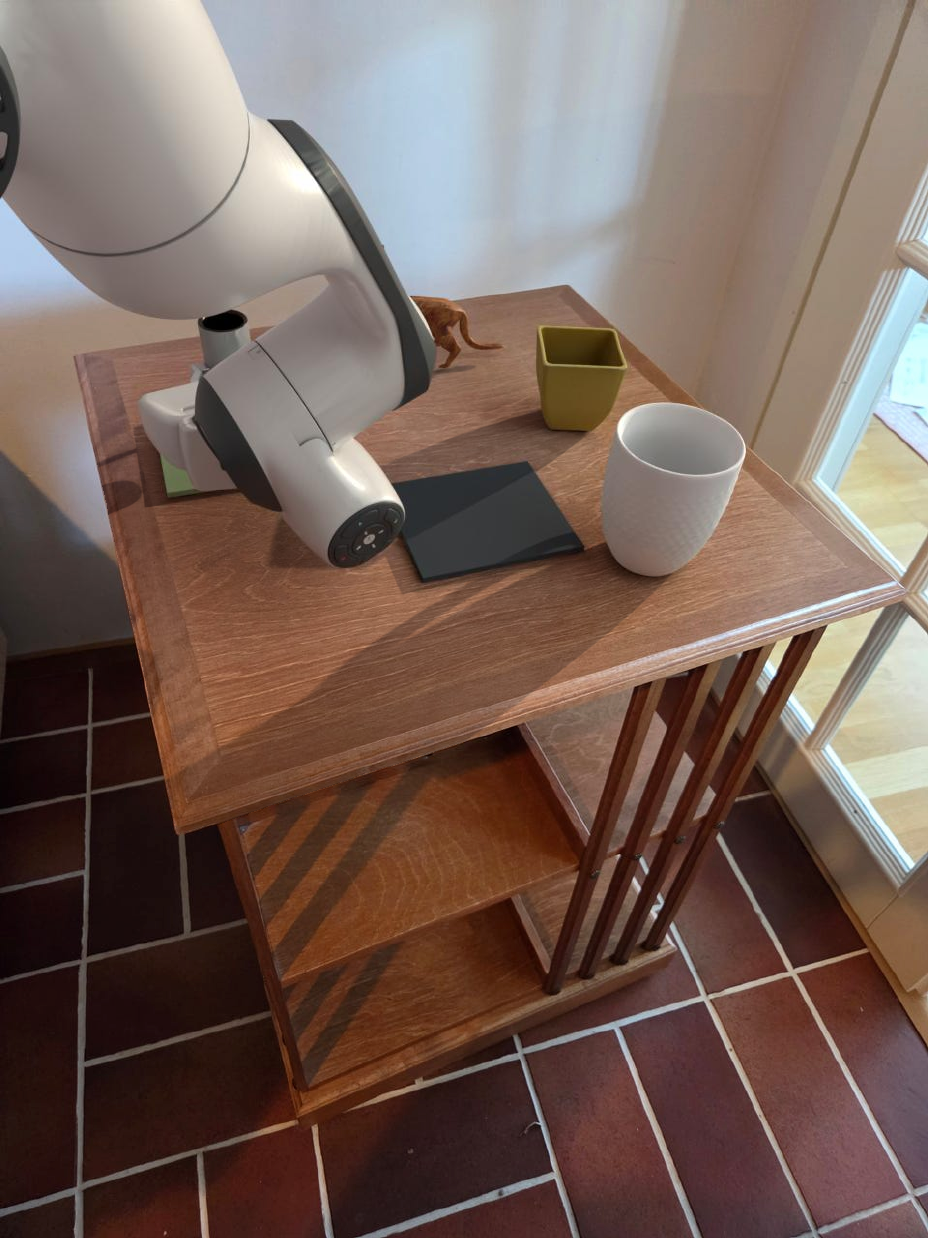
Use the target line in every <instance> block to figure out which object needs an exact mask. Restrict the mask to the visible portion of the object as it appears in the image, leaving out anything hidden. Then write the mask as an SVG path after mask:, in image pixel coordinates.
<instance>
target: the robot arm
mask: <svg viewBox="0 0 928 1238" xmlns="http://www.w3.org/2000/svg"><path fill="white" fill-rule="evenodd" d="M1 199H3V201H4V202H5V203H6V205H7V206H8V207H9V208H10V209H11V210H12V212H13V213H14V214H15V216H16V217H17V218H18V219H19V221H21V223H22V224H23V225H24V227H25V228H26V229H27V230H28V232H30V233H31V234H32V235H33V237H34V238H35V239H36V240H37V241H38V242H39V243H40V244H41V246H42V247H43V248H44V249H45V250H46V251H47V252H48V253H49V255H51V256H52V257H53V258H54V259H55V260H56V262H58V264H60V265H61V266H62V267H63V268H64V269H65V270H66V271H68V273H69V274H70V275H71V276H73V277H74V278H75V279H76V280H77V281H78V282H79V283H81V285H83V286H84V287H85V288H87V289H88V290H89V291H90V292H92V293H94V295H96V296H97V297H99V298H101V299H102V300H104V301H106V302H108V303H109V304H112V305H113V306H115V307H118V308H119V309H123V310H124V311H127V312H130V313H133V314H136V315H140V316H143V317H146V318H147V317H148V318H152V319H153V318H154V319H160V320H171V321H173V320H174V321H185V320H196V319H197V320H198V319H199V318H204V317H209V316H213V315H217V314H220V313H223V312H226V311H229V310H231V309H232V310H235V309H237V308H238V307H240V306H242V305H245V304H246V303H249V302H251V301H253V300H256V299H257V298H260V297H262V296H264V295H267V294H268V293H270V292H273V291H275V290H278V289H279V288H282V287H284V286H286V285H289V284H292V283H294V282H298V281H301V280H304V279H307V278H311V277H315V276H324V278H325V280H326V282H327V283H328V284H327V285H326V286H325V288H324V289H323V290H322V291H321V292H320V293H318V294H317V295H316V296H315V298H313V299H312V300H310V301H309V302H307V303H306V304H305V305H303V306H302V307H300V308H298V309H297V310H296V311H294V312H293V313H291V314H289V316H287V317H286V318H284V319H282V320H281V321H280V322H278V323H277V324H275V325H274V326H272V327H271V328H269V329H268V330H266V331H265V332H263V333H262V334H260V335H259V336H258V337H257V338H255V339H251V342H249V343H248V344H246V345H245V346H243V347H242V348H240V349H239V350H237V351H236V352H234V353H233V354H232V355H230V356H229V357H227V358H226V359H224V360H223V361H222V362H220V363H219V364H217V365H216V366H215V367H213V368H212V369H211V370H210V368H209V367H208V366H207V365H206V364H205V361H200V362H196V363H192V364H188V368H189V374H190V380H189V383H185V384H180V385H177V386H172V387H168V388H163V389H159V390H156V391H151V392H146V393H145V394H142V396H141V397H140V398H139V400H138V402H137V409H138V414H139V418H140V422H141V425H142V428H143V431H144V433H145V435H146V437H147V438H148V440H149V442H150V443H151V444H152V445H153V447H154V448H155V449H156V451H157V452H158V453H159V455H160V454H161V455H162V456H163V457H164V458H165V459H166V460H167V461H168V462H169V463H170V464H171V465H173V466H174V467H176V468H178V469H181V470H184V471H187V473H188V475H189V478H190V481H191V483H192V485H193V487H194V488H195V489H197V490H199V491H209V492H214V490H215V491H222V490H224V491H225V490H238V491H239V492H240V494H241V495H243V497H244V498H245V499H247V501H249V503H250V504H253V505H256V506H258V507H261V508H263V509H266V510H269V511H271V512H278V513H279V515H280V516H281V518H282V519H283V520H284V521H285V523H286V524H287V525H288V526H289V528H290V529H291V530H292V531H293V532H294V533H295V535H296V536H297V537H298V538H299V539H300V540H301V541H302V542H303V543H304V544H305V545H306V546H307V547H308V548H309V549H310V550H311V551H312V552H313V553H314V554H316V556H317V557H319V558H320V559H321V560H322V561H323V562H325V563H326V564H327V565H329V566H331V567H333V568H336V569H352V568H356V567H358V566H361V565H364V564H365V563H368V562H369V561H371V560H372V559H373V558H375V557H377V556H378V555H380V554H381V553H382V552H384V550H386V549H387V548H388V547H389V546H391V545H392V544H393V542H394V541H395V540H396V538H397V537H398V536H399V534H400V531H401V529H402V526H403V523H404V519H405V510H404V507H403V504H402V502H401V500H400V498H399V497H398V495H397V493H396V491H395V490H394V488H393V486H392V485H391V483H392V482H391V481H390V480H389V478H388V477H387V475H386V474H385V473H384V471H383V470H382V468H381V467H380V466H379V465H378V462H377V461H376V460H375V459H374V458H373V457H372V455H371V454H370V453H369V452H368V451H367V450H366V448H365V447H364V446H363V445H362V444H361V443H360V442H359V441H358V440H357V439H356V437H357V436H359V435H360V434H361V433H362V432H364V431H365V430H366V429H368V428H370V427H371V426H372V425H374V424H376V423H377V422H378V421H380V420H381V419H383V418H384V417H385V416H386V415H388V414H390V413H391V412H394V411H397V410H398V409H400V408H402V407H404V406H406V405H407V404H408V403H410V402H412V401H414V400H415V399H417V398H418V397H420V396H423V395H424V394H425V393H427V392H428V391H429V388H430V385H431V382H432V379H433V376H434V371H435V368H436V362H437V355H438V354H437V353H438V349H437V348H438V347H436V345H435V342H434V341H435V339H434V337H433V336H432V333H431V331H430V328H429V326H428V323H427V321H426V319H425V318H424V316H423V314H422V313H421V311H420V309H419V308H418V307H417V305H416V304H415V303H414V301H413V300H412V299H411V297H410V296H411V295H409V294H408V293H407V292H406V290H405V288H404V286H403V283H402V281H401V280H400V278H399V275H398V274H397V271H396V269H395V267H394V266H393V264H392V262H391V259H390V258H389V256H388V254H387V252H386V249H385V247H384V248H383V246H382V245H383V244H382V242H381V240H380V237H379V236H378V234H377V232H376V230H375V228H374V226H373V223H371V221H370V219H369V217H368V215H367V213H366V212H365V210H364V208H363V206H362V205H361V203H360V200H359V199H358V198H357V196H356V194H355V192H354V191H353V189H352V187H351V186H350V184H349V183H348V181H347V179H346V178H345V176H344V174H343V173H342V172H341V170H340V169H339V168H338V166H337V165H336V163H335V162H334V161H333V159H332V158H331V157H330V156H329V155H328V153H327V152H326V151H325V149H323V147H322V145H320V144H319V142H317V140H316V139H315V138H314V137H313V136H312V135H311V134H310V133H309V132H308V131H306V130H305V128H303V127H302V126H301V125H299V124H298V123H297V122H296V121H294V120H293V119H273V118H267V119H264V118H262V117H259V116H257V115H256V114H253V113H252V112H250V111H249V109H248V107H247V105H246V102H245V98H244V97H243V94H242V92H241V89H240V86H239V84H238V81H237V79H236V76H235V72H234V71H233V68H232V66H231V63H230V61H229V58H228V56H227V54H226V52H225V49H224V48H223V46H222V43H221V41H220V39H219V36H218V35H217V32H216V30H215V28H214V26H213V23H212V20H211V19H210V17H209V14H208V13H207V11H206V9H205V6H204V4H203V3H202V1H201V0H0V200H1Z"/></svg>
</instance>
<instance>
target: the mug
mask: <svg viewBox="0 0 928 1238" xmlns="http://www.w3.org/2000/svg"><path fill="white" fill-rule="evenodd" d="M746 449H747V448H746V444H745V441H744V439H743V437H742V435H741V433H740V432H739V431H738V430H737V429H736V428H735V426H733V425H732V424H731V423H729V422H728V421H726V419H724V418H722V417H720V416H718V415H716V414H714V413H712V412H710V411H708V410H706V409H702V408H699V407H696V406H693V405H689V404H683V403H677V402H651V403H645V404H642V405H638V406H635V407H633V408H631V409H629V410H627V411H626V412H624V413H623V415H622V416H621V417H620V418H619V419H618V420H617V423H616V425H615V429H614V434H613V437H612V442H611V446H610V449H609V452H608V456H607V457H608V458H607V461H606V465H605V471H604V475H603V483H602V489H601V490H602V491H601V493H602V495H601V509H600V512H601V524H602V532H603V534H604V538H605V542H606V544H607V547H608V549H609V551H610V554H611V555H612V557H613V558H614V559H615V561H616V562H617V563H618V564H619V565H620V566H621V567H623V568H625V569H626V570H628V571H630V572H631V573H634V574H637V575H641V576H646V577H663V576H667V575H670V574H672V573H674V572H677V571H678V570H681V569H682V568H684V566H685V565H687V564H689V563H690V561H692V560H694V558H695V557H696V556H697V554H699V553H700V552H701V551H702V549H703V547H705V545H706V544H707V543H708V541H709V539H710V538H711V537H712V536H713V534H714V531H715V530H716V528H717V526H718V525H719V524H720V521H721V518H722V517H723V515H724V513H725V511H726V507H727V506H728V505H729V502H730V498H731V495H732V494H733V492H734V489H735V486H736V483H737V481H738V479H739V474H740V472H741V469H742V467H743V464H744V461H745V458H746V453H747V450H746Z"/></svg>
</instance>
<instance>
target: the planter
mask: <svg viewBox="0 0 928 1238" xmlns="http://www.w3.org/2000/svg"><path fill="white" fill-rule="evenodd" d="M249 325H250V324H249V319H248V317H247V315H246V314H245V313H244V312H242V311H239V310H237V309H231V310H229V311H226V312H223V313H220V314H217V315H213V316H209V317H204V318H198V319H197V329H198V333H199V340H200V345H201V350H202V355H203V360H204V361H203V362H205V364H206V365H207V366H208V367H209V368H210V370H211V369H212V368H213V367H215V366H216V365H217V364H219V363H220V362H222V361H223V360H224V359H226V358H227V357H229V356H230V355H232V354H233V353H234V352H236V351H237V350H239V349H240V348H242V347H243V346H245V345H246V344H248V343H249V342H251V341H252V338H251V332H250V326H249Z"/></svg>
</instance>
